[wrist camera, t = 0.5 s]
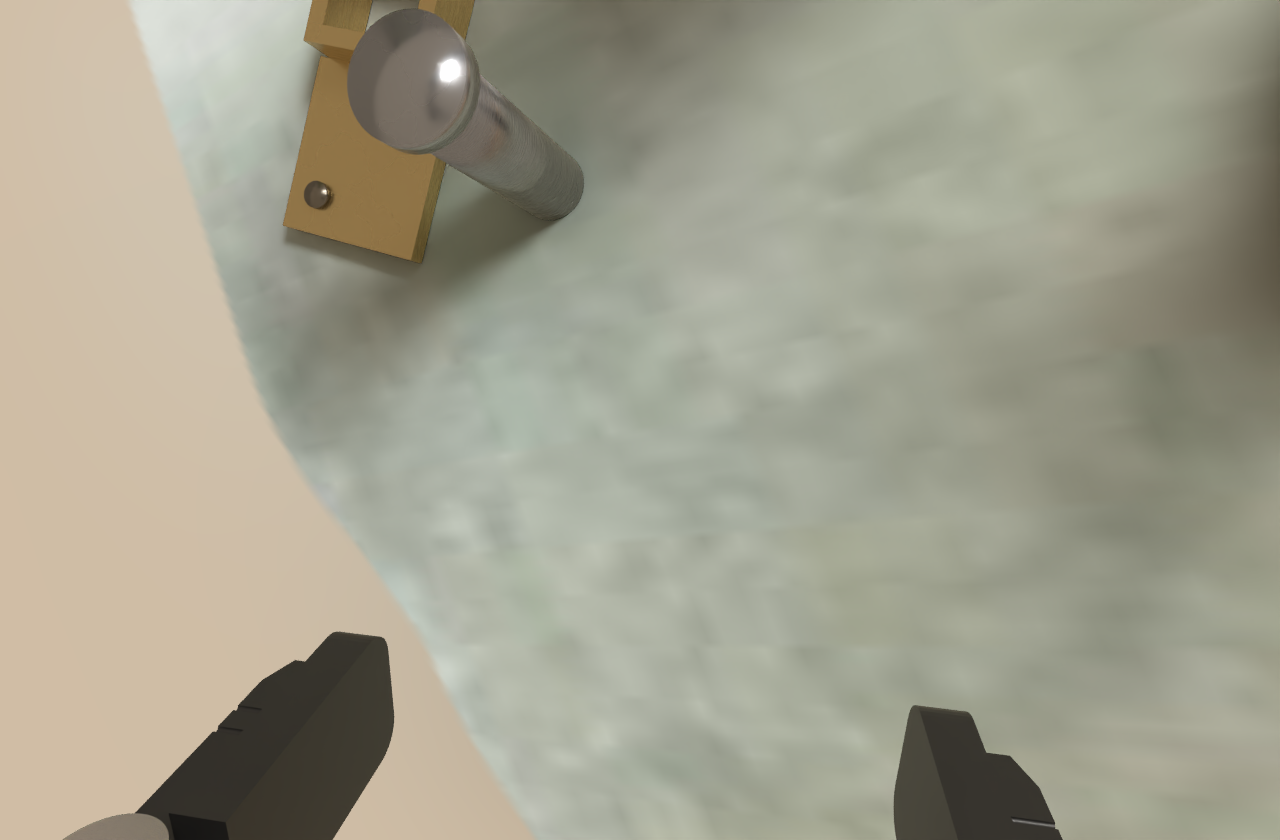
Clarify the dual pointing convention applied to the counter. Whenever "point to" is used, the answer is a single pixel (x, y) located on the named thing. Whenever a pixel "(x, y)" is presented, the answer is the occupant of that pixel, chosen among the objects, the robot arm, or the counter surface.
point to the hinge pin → (455, 113)
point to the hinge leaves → (360, 148)
